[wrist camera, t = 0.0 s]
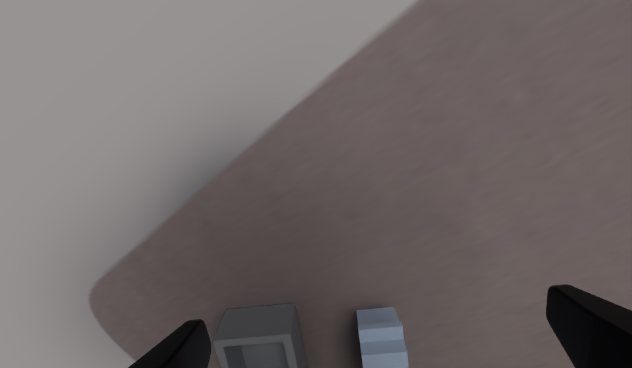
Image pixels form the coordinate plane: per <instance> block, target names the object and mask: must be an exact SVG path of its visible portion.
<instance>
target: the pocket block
mask: <svg viewBox="0 0 632 368" xmlns="http://www.w3.org/2000/svg"><path fill="white" fill-rule="evenodd" d="M213 344H214V347H215V350H216V354H217V357H218V360H219V364H220V367H221V368H308V366H307V361H306V356H305V351H304V346H303V341H302V336H301V331H300V326H299V321H298V315H297V310H296V305H295V303H288V304H277V305H267V306H257V307H246V308H236V309H226V311H225V313H224V316H223V318H222V320H221V323H220V325H219V327H218V330H217V332H216V334H215V337H214V339H213Z"/></svg>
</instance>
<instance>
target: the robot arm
mask: <svg viewBox="0 0 632 368" xmlns="http://www.w3.org/2000/svg"><path fill="white" fill-rule="evenodd" d="M546 317H547V320H548V322H549V324H550V326H551V328H552V329H553V331H554V333H555V334H556V336H557V338H558V339H559V341H560V343H561V345H562V346H563V348H564V350H565V351H566V353H567V355H568V356H569V358H570V360H571V361H572V363H573V365H574V367H575V368H632V311H631V310H629V309H626V308H624V307H621V306H619V305H616V304H614V303H612V302H609V301H607V300H604V299H602V298H600V297H597V296H595V295H592V294H590V293H588V292H585V291H583V290H580V289H578V288H575V287H573V286H571V285H555V286H551V287H549V289H548V294H547V306H546ZM210 354H211V342H210V338H209V335H208V332H207V328H206V325H205V323H204V321H203V320H201V319H199V320H189V321H187V322H185V323H184V324H183V325H181V326H180V327H179V328H178V329H176V330H175V331H174V332H173V333H171V334H170V335H169V336H168V337H166V338H165V339H164V340H162V341H161V342H160V343H159V344H157V345H156V346H155V347H154V348H152V349H151V350H150V351H149V352H147V353H146V354H145V355H144V356H142V357H141V358H140V359H139V360H137V361H136V362H135V363H134V364H132V365H131V366H130V367H129V368H207V367H208V363H209V359H210Z"/></svg>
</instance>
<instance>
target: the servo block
mask: <svg viewBox="0 0 632 368" xmlns="http://www.w3.org/2000/svg"><path fill="white" fill-rule="evenodd" d="M356 312H357V321H358V331H359V339H360V347H361V356H362V363H363V368H408V356H407V349H406V346H405V342H404V337H403V326H402V322H401V321H398V317H397V313H396V310H395V307H386V308H376V309H365V310H356Z"/></svg>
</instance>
